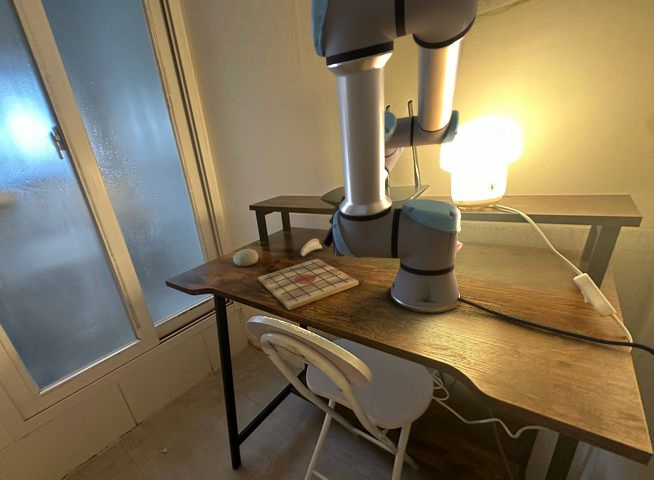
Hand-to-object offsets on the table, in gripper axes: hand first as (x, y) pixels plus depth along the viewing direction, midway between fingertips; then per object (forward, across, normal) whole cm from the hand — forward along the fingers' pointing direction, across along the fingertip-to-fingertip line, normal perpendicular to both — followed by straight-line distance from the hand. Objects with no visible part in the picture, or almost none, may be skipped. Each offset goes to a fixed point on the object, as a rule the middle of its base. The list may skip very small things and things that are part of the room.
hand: (331, 247), depth 94 cm
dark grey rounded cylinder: (0, 0, -5) cm, 5 cm away
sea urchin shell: (+18, +27, +8) cm, 33 cm away
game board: (+14, -2, +4) cm, 15 cm away
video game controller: (-14, -20, -24) cm, 35 cm away
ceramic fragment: (+2, +18, -8) cm, 20 cm away
